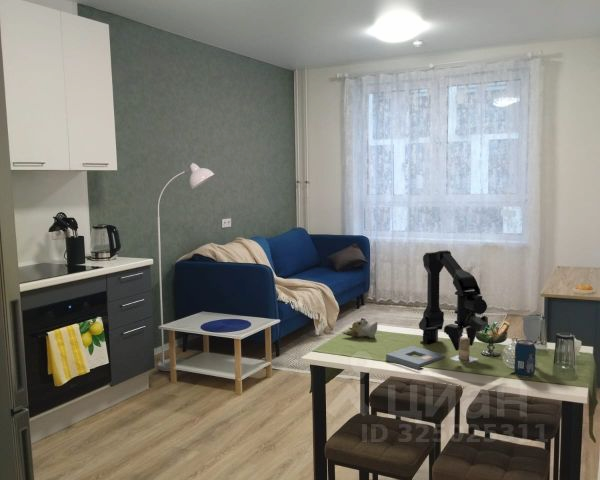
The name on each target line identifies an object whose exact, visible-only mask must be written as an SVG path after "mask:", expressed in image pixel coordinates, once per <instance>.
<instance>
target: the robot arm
mask: <svg viewBox="0 0 600 480" xmlns="http://www.w3.org/2000/svg"><path fill="white" fill-rule="evenodd" d="M422 262H423V267H424V269H425V271H426V272H427V292H426V293H427V298H426V300H427V303H426V308H425V309H424V311H423V312H422V313H423V314H422V316H423V317H422V318H421V319H420V321H419V323H418V328H419V330H421V331H422V340H421V341H420V344H424V345H426V346H427V345H428V346H429V345H430V346H431V345H433V344H437V343H440V340H439V330H440V331H441V330H443V333H444V334H445V335H447V336H448V337H449V339H450V341H451V343H452V346H453V348H454V350H455V351H458V352H459V344H460V338H461V337H464V334H463V333H464V330H465V331H466V332H465V333H466V335H467V336H466V337H467V338H470V347H471V346H473V344H474V342H475V339H476V336H477V333H478V332H482V331H485V329H486V328H487V326H489V318H488V316H486V315H483V314H484V313H486V311H487V310H488V304H487V302H486V300H485V299H483V295H482V293H481V288H480V287H479V284H478V282H477V279H476V277H475V276H474V275H473V274H472V273H470V272H468V271H466V270H464V269H463V268H462V267H461V265H460V264H459V263H458V262H457V260H456V259H455V258H454V257H453V255H452V253H451V251H450V250H447V249H445V250H444V249H443V250H438V251H433V252H426V253H425V254H424V255H423V256H422ZM444 268H445V270H446V271H447V272H448V273H449V275H450V276H451V278H452V284H453V287H454V288H455V290H456V291H455V292H454V295H456V297H457V298H456V299H457V300H456V309H455V310H454V314H456V320H454V323H453V324H452V323H450V324H446V325H445V326H444V322H445V313H444V311H442V309H441V308H440V276H441V275H440V273H441V272H442V270H443V269H444ZM477 315H482V316H477ZM443 326H444V327H443Z"/></svg>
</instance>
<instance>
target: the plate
mask: <svg viewBox="0 0 600 480" xmlns="http://www.w3.org/2000/svg"><path fill="white" fill-rule="evenodd" d="M449 360H452V361H456V362H460V363H463V364H466V365H467V364H469V363H472V362H476V361H477V360H479V358H477V357H473V356H470V355H469V360H460V359H459V354H457V355H455V356H452V357H449Z"/></svg>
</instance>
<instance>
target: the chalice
mask: <svg viewBox="0 0 600 480" xmlns="http://www.w3.org/2000/svg"><path fill="white" fill-rule="evenodd" d="M521 318H522V331H523V335H524V337H525V340H529V341H532V342H534V343H535V342H536V341H537V339H538V337H539V336H540V334H541V331H542V321H543V319H544V318H543V317H541V316H538V315H522V316H521ZM537 364H538V363H537V359H536V358H535V365H537ZM537 366H538V365H537Z"/></svg>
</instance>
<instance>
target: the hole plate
mask: <svg viewBox="0 0 600 480" xmlns="http://www.w3.org/2000/svg"><path fill="white" fill-rule="evenodd" d="M411 355H417V356H418V357H415V356H411ZM445 356H446V355H445V354H443V353H439V352H437V351H432V350H430V349H429V350H428V349H425V348H422V347H418V346H414V345H410V346H407V347H403V348H401V349H398V350H397V349H396V350H395V351H391V352H389V353H386V354H385V361H386V362H390V363H394V364H397V365H400V366H404V367H406V368H409V369H413V370H415V371H419V372H420V371H421V370H423V369H424V370H425V367H424V368H423V367H422V366H425V365H428V364H431V363H433V362H436V361H439V360H441V359H444V358H446V357H445Z"/></svg>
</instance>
